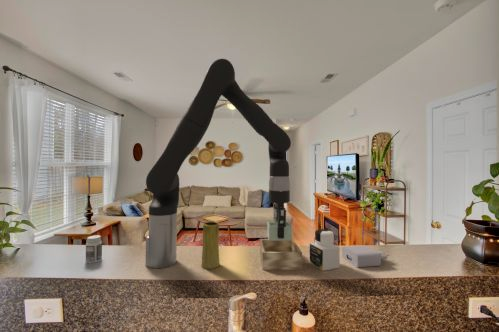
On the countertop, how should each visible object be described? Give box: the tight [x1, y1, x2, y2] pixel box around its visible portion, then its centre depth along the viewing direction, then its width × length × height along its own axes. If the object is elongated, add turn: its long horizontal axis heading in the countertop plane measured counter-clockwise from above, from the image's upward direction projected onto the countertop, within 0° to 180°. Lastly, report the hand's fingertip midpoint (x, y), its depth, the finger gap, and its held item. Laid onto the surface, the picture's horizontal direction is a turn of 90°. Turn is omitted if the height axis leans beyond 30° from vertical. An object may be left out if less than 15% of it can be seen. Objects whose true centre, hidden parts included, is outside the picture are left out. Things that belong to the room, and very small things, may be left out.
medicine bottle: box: [309, 228, 341, 272], centre depth 77 cm, size 7×7×12 cm
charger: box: [341, 244, 390, 268], centre depth 81 cm, size 5×9×15 cm
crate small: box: [266, 221, 293, 241], centre depth 81 cm, size 8×6×5 cm
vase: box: [201, 221, 220, 270], centre depth 76 cm, size 6×6×14 cm
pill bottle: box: [85, 234, 103, 264], centre depth 79 cm, size 5×5×8 cm
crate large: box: [259, 238, 303, 271], centre depth 81 cm, size 13×15×6 cm
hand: (279, 235), depth 81 cm, fingers closed on crate small, 6 cm apart
